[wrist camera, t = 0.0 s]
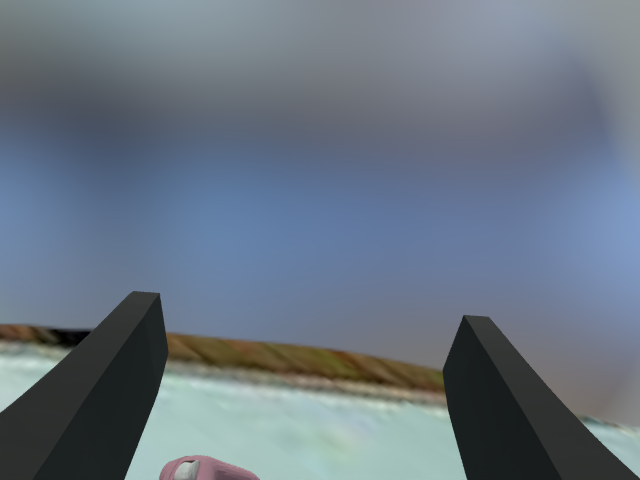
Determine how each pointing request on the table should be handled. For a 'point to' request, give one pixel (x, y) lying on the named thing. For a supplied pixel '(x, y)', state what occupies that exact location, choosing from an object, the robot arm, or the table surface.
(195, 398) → the table surface
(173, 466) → the video game controller
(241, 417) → the table surface
